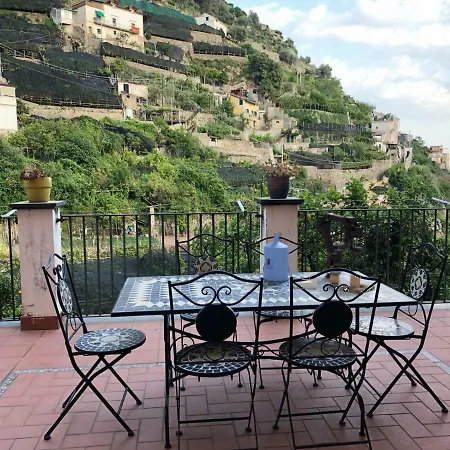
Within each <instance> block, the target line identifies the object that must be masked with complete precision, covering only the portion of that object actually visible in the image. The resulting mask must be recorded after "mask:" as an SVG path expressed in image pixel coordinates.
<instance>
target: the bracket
mask: <svg viewBox="0 0 450 450" xmlns="http://www.w3.org/2000/svg"><path fill="white" fill-rule="evenodd" d="M313 275H316V274H315V272H309V277H310V276H313ZM308 280H309V281H304V282H298V284H299V285H300V286H302V287H303V288H302V289H317V288H318V277H317V278H315V279H312V280H310V279H308ZM293 288H295V289H298V288H297V287H296V286H295V285H294V287H293Z"/></svg>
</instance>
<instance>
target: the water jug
mask: <svg viewBox="0 0 450 450" xmlns="http://www.w3.org/2000/svg"><path fill="white" fill-rule="evenodd" d="M273 236H274V237H273V241H271V242H270V243H269V242H268V243H267V244H265V245H264V246H263V257H264V261H263V262H264V267H263V274H262V278H263V280H265V281H267V282H275V283H278V282H280V283H281V282H287V281H288V279H289V266H290V265H289V264H290V263H289V257H290V255H289V253H290V249H289V246H288V245H286V244H285V243H284V242H281V241H280V234H273ZM268 259H269V265H268Z"/></svg>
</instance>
